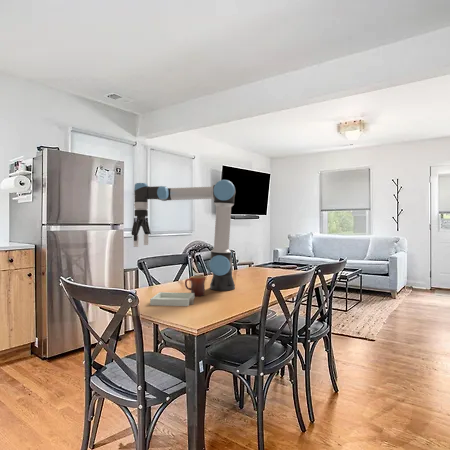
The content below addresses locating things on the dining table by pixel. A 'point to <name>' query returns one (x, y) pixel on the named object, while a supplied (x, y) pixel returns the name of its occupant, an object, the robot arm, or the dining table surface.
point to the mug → (196, 285)
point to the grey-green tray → (173, 299)
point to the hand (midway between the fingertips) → (141, 245)
